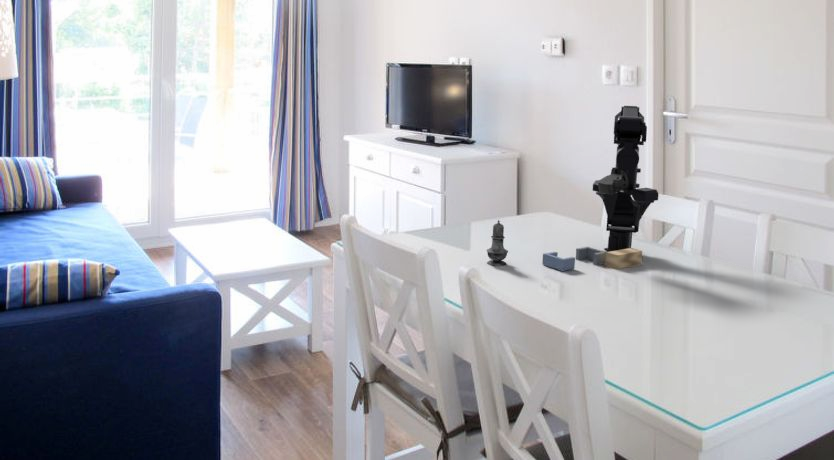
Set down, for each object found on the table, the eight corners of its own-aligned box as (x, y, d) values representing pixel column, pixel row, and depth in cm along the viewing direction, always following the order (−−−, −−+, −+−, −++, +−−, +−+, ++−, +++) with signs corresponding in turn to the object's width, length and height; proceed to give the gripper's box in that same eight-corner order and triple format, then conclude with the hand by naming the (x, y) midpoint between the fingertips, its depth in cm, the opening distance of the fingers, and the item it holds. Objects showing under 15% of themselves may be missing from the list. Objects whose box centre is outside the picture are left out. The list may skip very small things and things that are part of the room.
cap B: (554, 262, 241) (555, 251, 240) (574, 268, 235) (575, 257, 234) (542, 264, 238) (543, 253, 238) (562, 270, 233) (563, 259, 232)
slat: (629, 261, 245) (631, 247, 245) (641, 265, 242) (642, 250, 241) (604, 266, 240) (606, 252, 239) (616, 269, 237) (617, 255, 236)
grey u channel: (586, 257, 248) (587, 246, 248) (607, 262, 243) (607, 252, 242) (575, 259, 246) (576, 248, 245) (595, 265, 240) (596, 254, 239)
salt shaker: (506, 267, 236) (508, 223, 233) (484, 265, 237) (486, 221, 234) (508, 261, 241) (510, 218, 239) (487, 260, 242) (489, 217, 240)
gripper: (579, 161, 238) (576, 218, 241) (632, 171, 223) (627, 232, 226) (609, 158, 244) (605, 214, 247) (662, 168, 229) (657, 227, 232)
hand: (622, 221), depth 238 cm, fingers open, 9 cm apart
